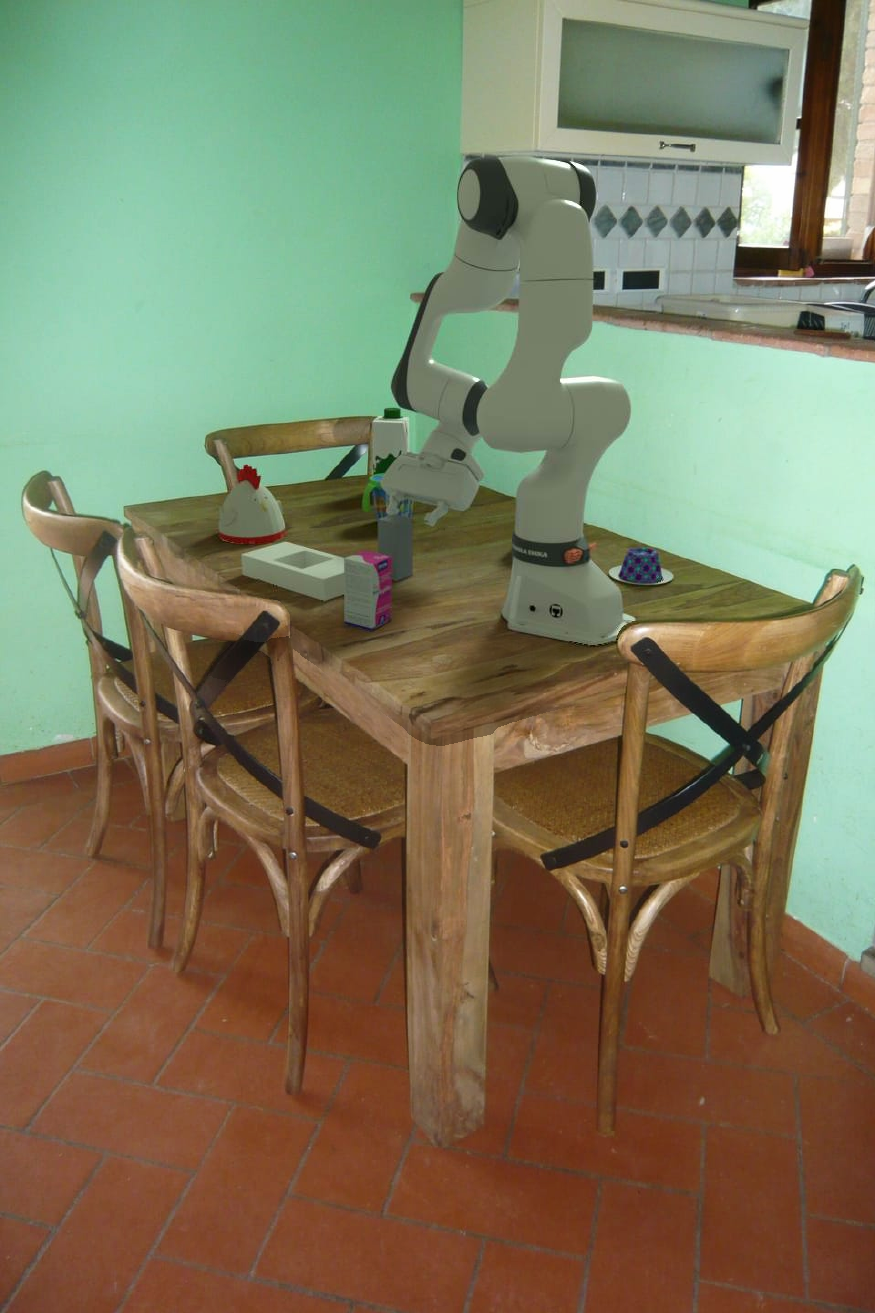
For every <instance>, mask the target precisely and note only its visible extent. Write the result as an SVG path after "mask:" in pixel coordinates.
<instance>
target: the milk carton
mask: <svg viewBox="0 0 875 1313" xmlns="http://www.w3.org/2000/svg"><path fill="white" fill-rule="evenodd" d="M401 409H402V408H400V407H386V408H384V409H383V416H382V415H379V416H377V417H375V418H374V419H373V421H372V422H371V423H372V424H371V425H372V426H371V428H372V429H371V435H372V438H371V439H372V441H371V444H372V445H371V446H372V450H371V451H372V476H373V475H376V474H382V473H385V472H386V471H387V470H388V468H389V467H390V466H391V464H392V463H393V462H394V461H395V460H396V459H397V458H398V457H399V456H400V455H402V454H406V452H411V451H410V450H411V447H410V445H411V444H410V443H411V441H410V440H411V439H410V417H409V416H408V417H407V416H402V415H401V411H402V410H401Z"/></svg>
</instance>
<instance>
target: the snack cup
mask: <svg viewBox="0 0 875 1313" xmlns="http://www.w3.org/2000/svg"><path fill="white" fill-rule="evenodd" d="M384 474H385V473H382V474H376V475H373V474H372V475H371V476H370V477H369V480H368V481H369V483H368V484H367V485H366V487H365V489H364V491H363V495H362V501H361V504H362V505H361V506H362V511H364V512H365V513H366V514H371V498H370V497H371V495H370V494H372V498H373V507H374V511H375V512H374V513H375V518H376V521H377V522H378V519H380V518H383V517H387V516H389V515H388V514H387V513H386V509H387V508H388V506H389V495H388V494H387V493H386V492H385V491H384V490H383V488H382V487H381V483H380V481H381V479H382V477H383V475H384ZM415 502H416V503H418V504H424V503H423V502H418V501H415ZM397 508H398V509H399V510H400V511H399V512H398V513H397V515H399V516H404V517H408V518H412V514H413V508H414V500H409V499H405V498H402V499H401V501H400V502H397Z"/></svg>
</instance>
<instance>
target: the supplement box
mask: <svg viewBox="0 0 875 1313" xmlns="http://www.w3.org/2000/svg"><path fill="white" fill-rule="evenodd" d="M343 558H344V594H343V595H344V596H343V598H344V603H343V604H344V605H343V606H344V607H343V608H344V618H343V619H344V621H343V622H344V625H345V624H346V625H345V626H348V625H350V626H349V627H353V626H354V627H355V628H357V629H361V630H364V629H365V631H369V632H372V631H375V630H376V629H378V628H379V627H381V626H384V625H385V624H387V623H386V622H388V621H390V622H391V621H392V581H393V580H391V579H392V557H391V556H388V555H383V554H378V553H377V552H373V551H369V550H363V551H362V550H361V551H360V552H357V553H354V554H352V555H349V556H347V557H343ZM384 623H385V624H384ZM388 623H389V622H388Z"/></svg>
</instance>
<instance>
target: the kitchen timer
mask: <svg viewBox="0 0 875 1313" xmlns="http://www.w3.org/2000/svg"><path fill="white" fill-rule="evenodd" d="M236 477H237V480H238V483H237V484H236V485H235V486H234V487H233V488H232V489H231V491H230V492H229V493H228V494H227V496H226V497H225V500H224V501H223V504H222V506H219V508H218V509H219V510H218V513H219V520H218V537H219V536H220V538H222V539H224V540H227V541H229V542H234V543H243V544H257V545H260V544H259V543H265V544H268V543H267V542H270V543H272V542H271V541H275V540H277V539H280V538H282V537H283V538H285V536H286V534H285V533H286V524H285V520H284V516H283V512H284V510H283V505H282V502H281V500H276V498H275V497H274V495H273V494H272V492H271V491H270V490H269V489H268V487H266V486H264V484H262V483H260V482H261V478H262V475H258V469H257V468H253V466H252V465H248V464H243V467H242V468H240V469H239V472H237V473H236ZM220 538H219V539H220ZM283 538H282V539H283ZM280 540H281V539H280ZM277 541H278V540H277ZM275 542H276V541H275Z"/></svg>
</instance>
